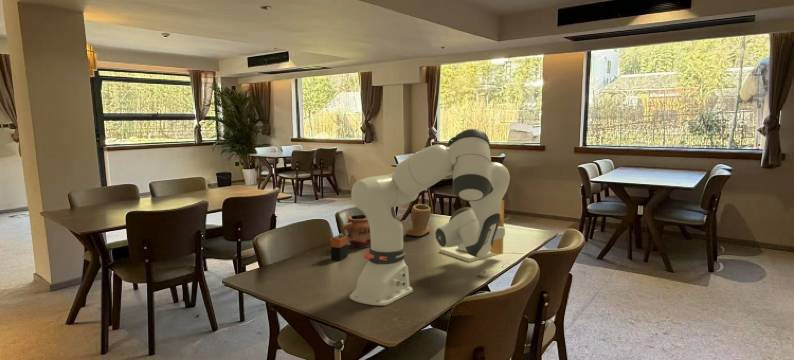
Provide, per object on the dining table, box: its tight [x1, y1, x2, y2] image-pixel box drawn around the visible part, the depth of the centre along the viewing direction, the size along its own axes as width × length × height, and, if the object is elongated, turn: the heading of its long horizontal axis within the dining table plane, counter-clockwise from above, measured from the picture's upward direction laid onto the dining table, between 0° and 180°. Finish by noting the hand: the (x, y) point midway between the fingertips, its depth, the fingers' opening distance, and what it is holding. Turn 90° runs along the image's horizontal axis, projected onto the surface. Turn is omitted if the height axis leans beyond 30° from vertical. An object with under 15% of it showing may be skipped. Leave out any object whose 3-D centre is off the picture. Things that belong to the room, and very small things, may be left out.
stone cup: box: [405, 203, 432, 237], centre depth 230 cm, size 15×12×15 cm
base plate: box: [439, 246, 499, 263], centre depth 198 cm, size 18×18×2 cm
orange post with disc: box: [458, 199, 505, 255], centre depth 193 cm, size 20×10×23 cm, turn 49°
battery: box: [330, 233, 349, 262], centre depth 191 cm, size 4×7×10 cm, turn 155°
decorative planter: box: [340, 214, 371, 249], centre depth 209 cm, size 20×12×14 cm, turn 141°
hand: (494, 225), depth 187 cm, fingers closed
